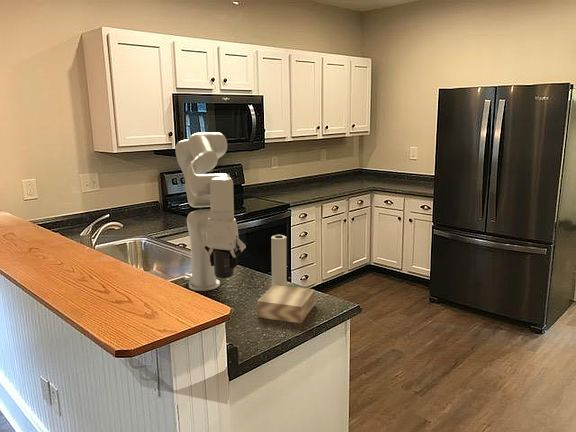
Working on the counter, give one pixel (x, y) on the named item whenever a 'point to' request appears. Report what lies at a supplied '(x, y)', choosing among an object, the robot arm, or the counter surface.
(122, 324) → the counter surface
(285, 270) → the paper towel roll
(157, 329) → the counter surface
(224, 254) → the supplement bottle
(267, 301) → the maple block
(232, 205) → the robot arm
